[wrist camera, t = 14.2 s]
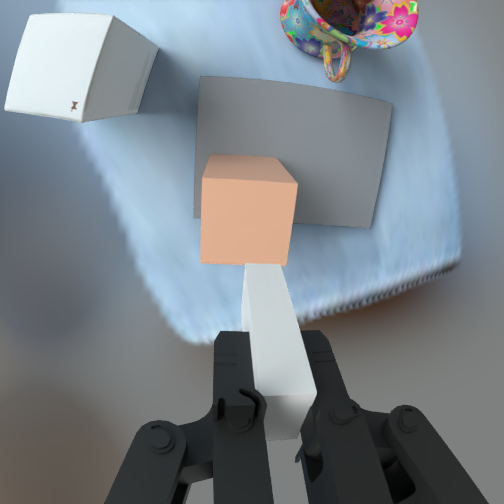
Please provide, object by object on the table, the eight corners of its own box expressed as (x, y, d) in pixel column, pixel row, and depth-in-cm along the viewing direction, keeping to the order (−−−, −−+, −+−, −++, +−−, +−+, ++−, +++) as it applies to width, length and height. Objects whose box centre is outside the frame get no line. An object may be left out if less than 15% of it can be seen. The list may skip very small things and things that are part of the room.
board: (201, 77, 25) (200, 76, 24) (385, 103, 27) (392, 103, 26) (195, 213, 32) (193, 218, 30) (364, 223, 34) (369, 228, 32)
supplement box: (161, 46, 23) (118, 13, 12) (138, 115, 26) (82, 127, 15) (96, 36, 22) (29, 11, 10) (76, 102, 25) (1, 112, 14)
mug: (282, -25, 20) (306, -72, 11) (368, 1, 22) (421, -27, 12) (262, 76, 26) (281, 63, 16) (352, 97, 27) (406, 101, 18)
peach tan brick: (210, 153, 27) (202, 178, 19) (276, 157, 28) (297, 183, 20) (207, 215, 30) (200, 263, 22) (269, 218, 31) (286, 266, 22)
